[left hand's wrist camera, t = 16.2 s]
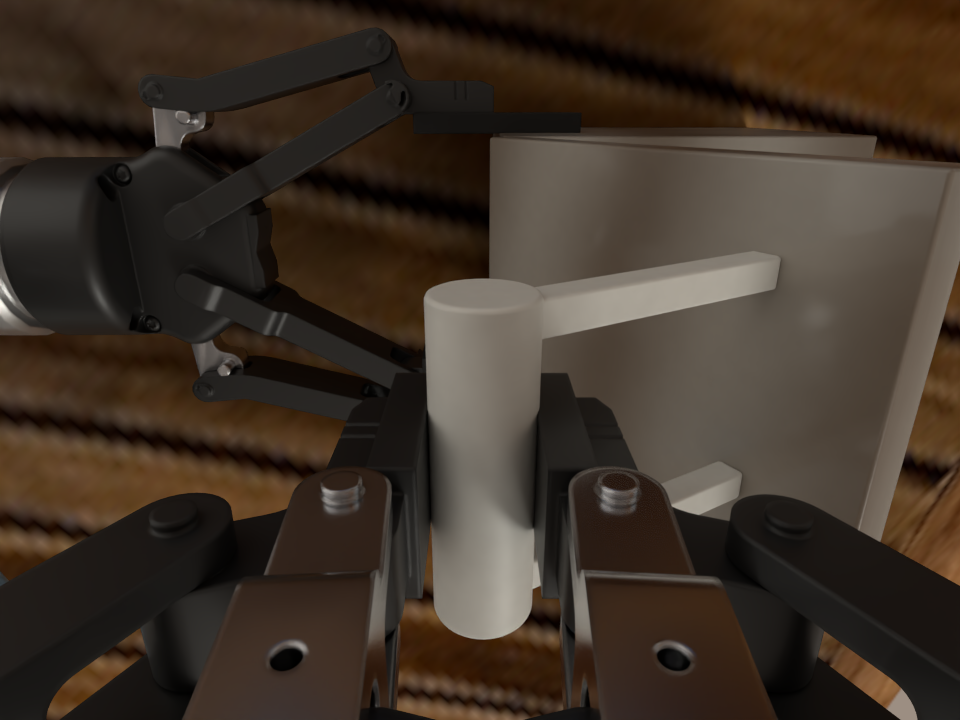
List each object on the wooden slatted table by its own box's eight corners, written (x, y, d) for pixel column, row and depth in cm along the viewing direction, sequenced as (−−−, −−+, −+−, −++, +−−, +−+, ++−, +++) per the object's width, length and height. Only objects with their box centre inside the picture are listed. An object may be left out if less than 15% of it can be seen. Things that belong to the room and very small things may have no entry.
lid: (988, 164, 10) (563, 202, 6) (861, 613, 14) (533, 835, 10) (517, 136, 21) (247, 143, 17) (512, 391, 25) (286, 449, 21)
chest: (748, 127, 32) (878, 135, 22) (722, 306, 36) (823, 386, 25) (493, 127, 32) (502, 136, 22) (491, 307, 35) (499, 388, 25)
